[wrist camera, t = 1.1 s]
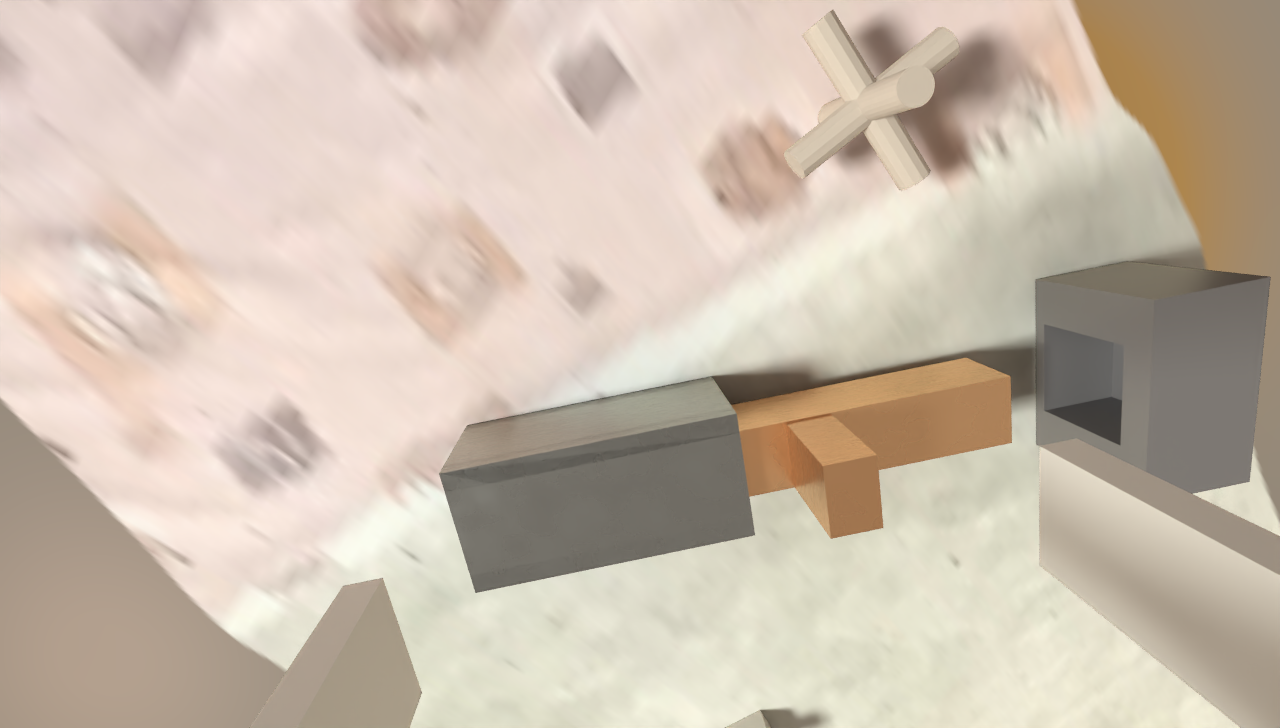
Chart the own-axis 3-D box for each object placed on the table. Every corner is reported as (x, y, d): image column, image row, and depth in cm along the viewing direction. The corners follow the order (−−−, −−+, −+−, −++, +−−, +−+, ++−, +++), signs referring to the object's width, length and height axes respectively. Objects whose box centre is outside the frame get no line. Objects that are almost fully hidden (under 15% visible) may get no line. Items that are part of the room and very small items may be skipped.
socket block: (1035, 279, 41) (1154, 300, 32) (1127, 261, 41) (1270, 277, 32) (1036, 444, 44) (1144, 503, 35) (1121, 427, 44) (1249, 481, 35)
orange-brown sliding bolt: (528, 445, 40) (505, 529, 29) (965, 357, 40) (1090, 409, 30) (543, 504, 41) (526, 603, 31) (968, 417, 41) (1088, 486, 31)
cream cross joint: (939, 132, 38) (1057, 107, 28) (811, 232, 39) (882, 242, 29) (855, -10, 35) (953, -91, 26) (721, 101, 36) (766, 64, 27)
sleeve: (467, 425, 40) (439, 473, 33) (711, 376, 41) (736, 413, 34) (495, 526, 43) (475, 592, 35) (728, 479, 43) (754, 535, 36)
